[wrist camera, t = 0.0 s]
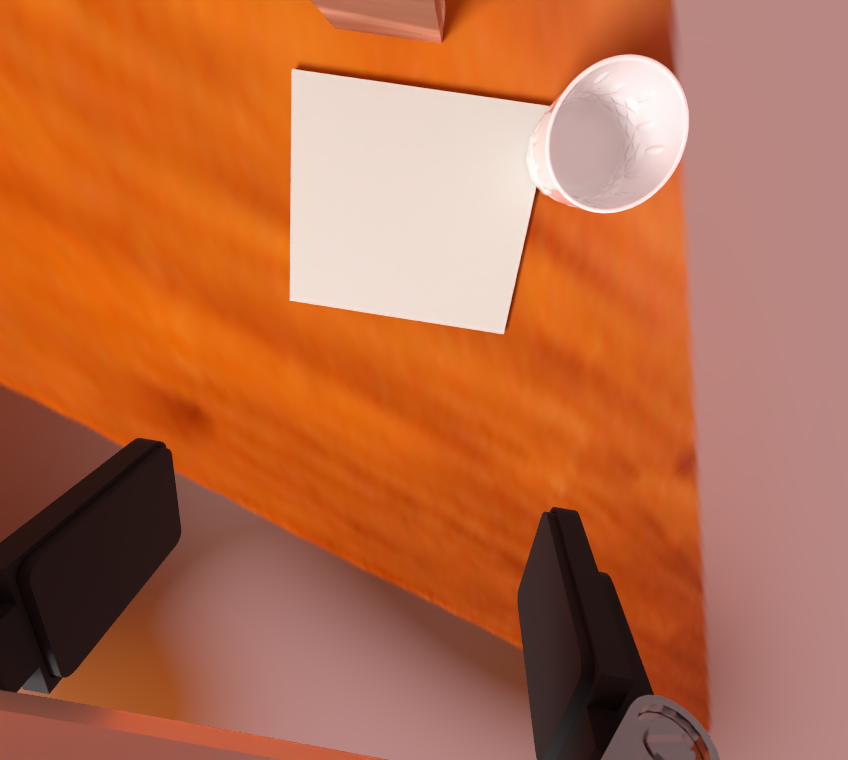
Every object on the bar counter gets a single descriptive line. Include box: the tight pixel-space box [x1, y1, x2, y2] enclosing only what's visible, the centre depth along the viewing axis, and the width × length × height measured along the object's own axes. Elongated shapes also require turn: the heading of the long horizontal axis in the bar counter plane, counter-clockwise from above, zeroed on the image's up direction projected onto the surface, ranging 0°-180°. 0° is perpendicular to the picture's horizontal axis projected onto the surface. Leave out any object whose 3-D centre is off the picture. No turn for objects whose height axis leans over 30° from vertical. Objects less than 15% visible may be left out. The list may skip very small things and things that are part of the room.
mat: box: [290, 69, 550, 334], centre depth 37 cm, size 18×20×1 cm
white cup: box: [526, 54, 689, 213], centre depth 29 cm, size 8×8×10 cm
